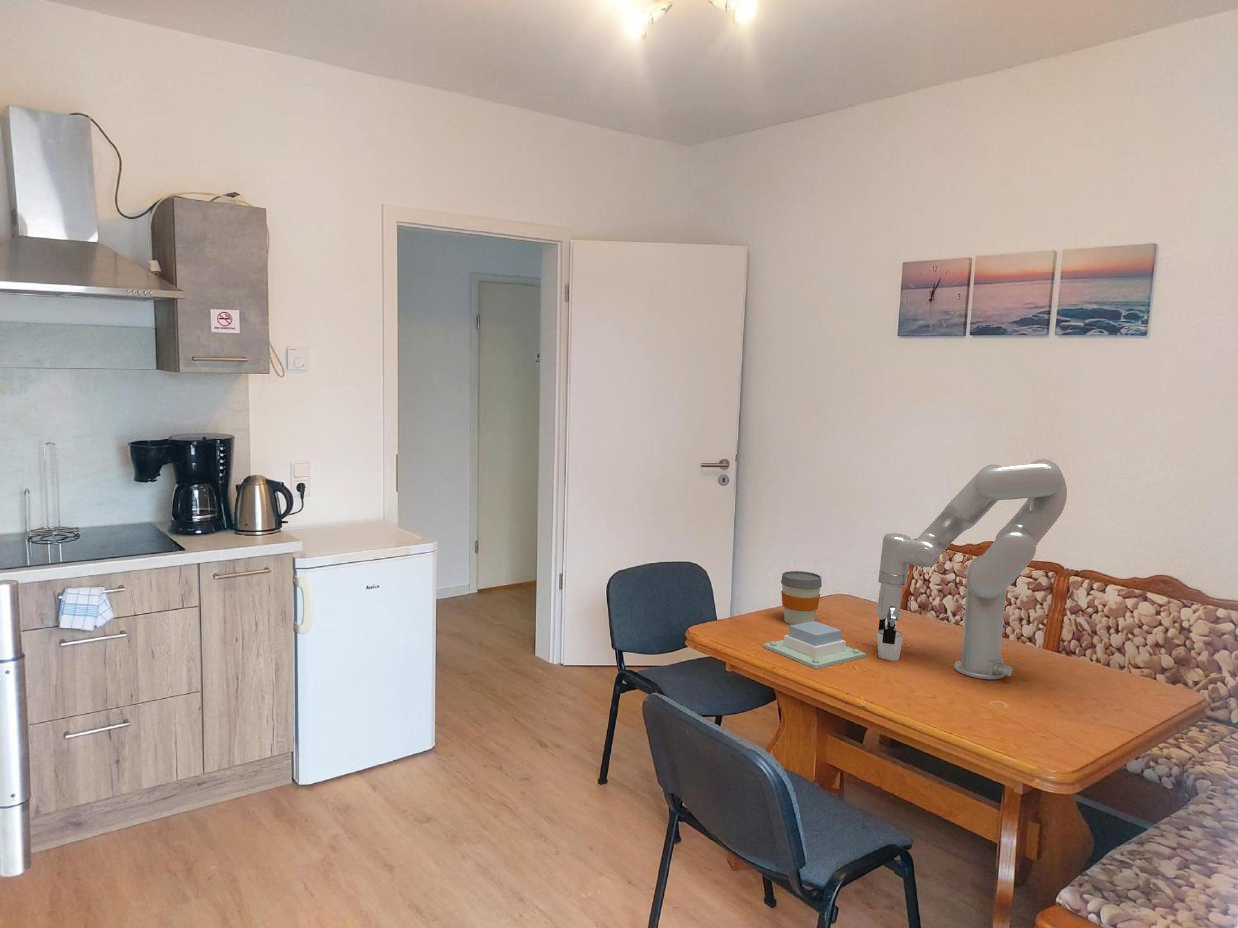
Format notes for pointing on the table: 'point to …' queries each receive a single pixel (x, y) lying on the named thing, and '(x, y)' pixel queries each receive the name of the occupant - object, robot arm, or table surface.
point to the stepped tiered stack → (815, 645)
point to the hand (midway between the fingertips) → (886, 637)
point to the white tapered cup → (889, 646)
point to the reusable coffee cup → (800, 596)
